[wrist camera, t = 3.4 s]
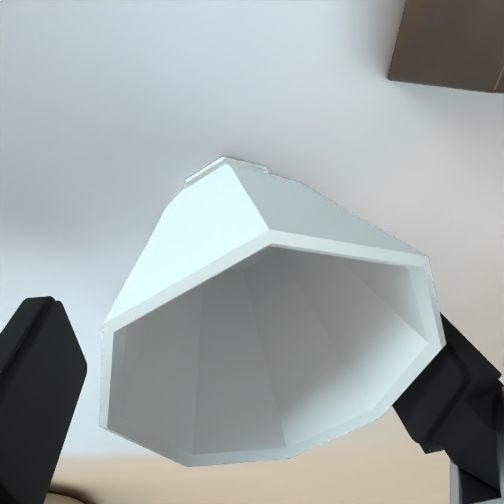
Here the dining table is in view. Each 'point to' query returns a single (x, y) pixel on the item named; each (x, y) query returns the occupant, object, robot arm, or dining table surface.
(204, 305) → the cup
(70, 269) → the dining table surface
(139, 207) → the dining table surface
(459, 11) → the block
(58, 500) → the donut
